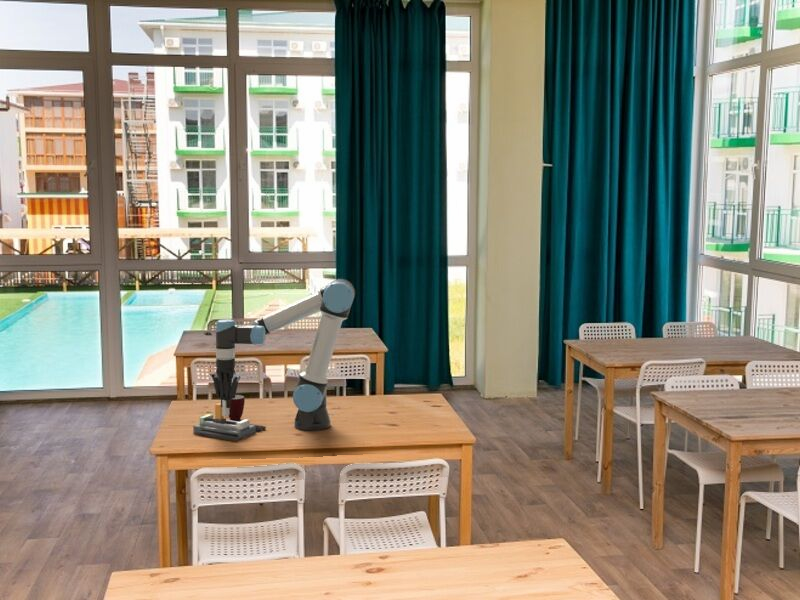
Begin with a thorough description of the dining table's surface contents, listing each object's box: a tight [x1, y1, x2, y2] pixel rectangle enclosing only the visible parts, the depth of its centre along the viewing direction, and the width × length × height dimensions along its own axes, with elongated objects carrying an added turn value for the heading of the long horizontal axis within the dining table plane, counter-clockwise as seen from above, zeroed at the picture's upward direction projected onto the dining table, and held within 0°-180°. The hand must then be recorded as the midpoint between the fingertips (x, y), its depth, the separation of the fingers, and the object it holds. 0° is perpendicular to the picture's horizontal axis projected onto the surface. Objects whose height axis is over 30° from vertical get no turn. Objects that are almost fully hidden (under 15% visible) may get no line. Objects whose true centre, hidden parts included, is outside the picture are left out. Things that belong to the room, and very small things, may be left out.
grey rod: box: [256, 426, 263, 432], centre depth 365 cm, size 24×2×2 cm, turn 65°
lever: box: [213, 402, 227, 424], centre depth 357 cm, size 4×3×8 cm
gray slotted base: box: [192, 413, 257, 441], centre depth 357 cm, size 22×12×6 cm, turn 65°
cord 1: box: [197, 431, 239, 442], centre depth 350 cm, size 20×2×2 cm, turn 63°
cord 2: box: [250, 423, 267, 431], centre depth 367 cm, size 25×2×2 cm, turn 68°
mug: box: [227, 394, 245, 422], centre depth 377 cm, size 10×8×10 cm
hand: (225, 415), depth 356 cm, fingers closed
